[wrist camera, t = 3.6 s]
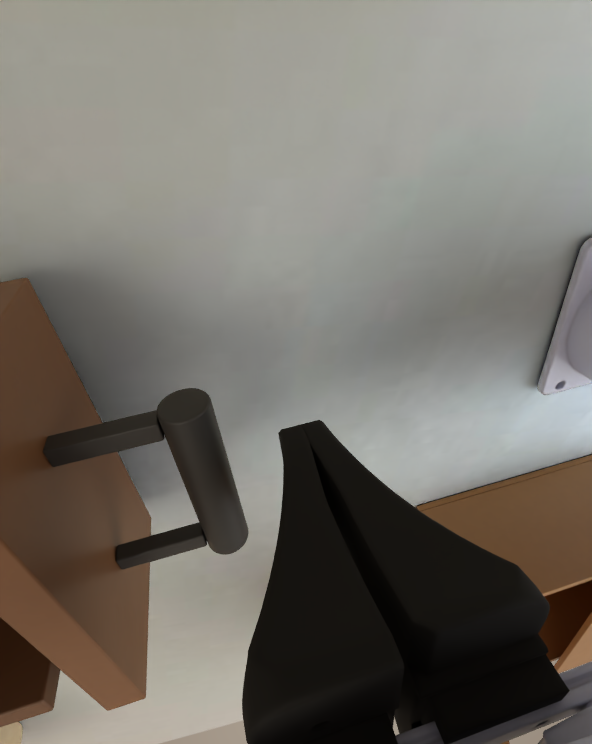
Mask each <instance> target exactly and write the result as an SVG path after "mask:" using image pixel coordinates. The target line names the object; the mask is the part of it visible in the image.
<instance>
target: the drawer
mask: <svg viewBox="0 0 592 744" xmlns="http://www.w3.org/2000/svg"><path fill="white" fill-rule="evenodd" d="M164 435H165V437H166V440H167V442H168V445H169V447H170V450H171V452H172V455H173V457H174V460H175V462H176V465H177V467H178V470H179V472H180V475H181V477H182V480H183V482H184V485H185V487H186V490H187V492H188V495H189V497H190V500H191V502H192V505H193V507H194V509H195V512H196V514H197V517H198V519H199V523H195V524H192V525H188V526H185V527H181V528H177V529H174V530H170V531H167V532H163V533H159V534H156V535H152V536H151V517H150V515H149V513H148V511H147V509H146V507H145V505H144V503H143V501H142V499H141V497H140V495H139V493H138V491H137V490H136V488H135V486H134V484H133V482H132V480H131V478H130V476H129V474H128V472H127V470H126V468H125V466H124V464H123V462H122V460H121V458H120V456H119V454H118V453H117V452H118V451H122V450H126V449H130V448H134V447H138V446H142V445H146V444H150V443H154V442H158V441H162V440H164ZM247 537H248V527H247V523H246V520H245V516H244V513H243V509H242V506H241V503H240V499H239V496H238V492H237V489H236V485H235V482H234V478H233V475H232V471H231V468H230V465H229V461H228V458H227V454H226V451H225V447H224V444H223V440H222V437H221V433H220V430H219V427H218V423H217V420H216V416H215V413H214V409H213V406H212V402H211V399H210V397H209V395H208V394H207V393H206V392H205V391H203V390H200V389H196V388H188V389H182V390H178V391H176V392H173V393H171V394H170V395H168V396H167V397H165V398H164V399H163V400H162V401H161V402H160V404H159V405H158V408H157V410H156V411H152V412H148V413H143V414H139V415H135V416H131V417H126V418H122V419H118V420H114V421H110V422H105V423H102V421H101V419H100V417H99V416H98V414H97V412H96V410H95V408H94V406H93V404H92V402H91V400H90V398H89V396H88V394H87V392H86V390H85V388H84V386H83V384H82V382H81V380H80V379H79V377H78V375H77V373H76V371H75V369H74V367H73V365H72V363H71V361H70V359H69V357H68V355H67V353H66V351H65V349H64V347H63V345H62V343H61V342H60V340H59V338H58V336H57V334H56V332H55V330H54V328H53V326H52V324H51V322H50V320H49V318H48V316H47V314H46V312H45V310H44V308H43V306H42V305H41V303H40V301H39V299H38V297H37V295H36V293H35V291H34V289H33V287H32V285H31V283H30V281H29V279H28V278H21V279H16V280H11V281H5V282H0V727H3V726H6V725H9V724H12V723H15V722H18V721H21V720H24V719H28V718H31V717H34V716H37V715H40V714H43V713H46V712H49V711H51V710H53V708H54V703H55V697H56V691H57V686H58V680H59V674H60V670H61V671H62V672H64V673H65V674H66V675H67V676H68V677H69V678H70V679H72V680H73V681H74V682H75V683H76V684H77V685H78V686H80V687H81V688H82V689H83V690H84V691H85V692H87V693H88V694H89V695H90V696H91V697H92V698H93V699H95V700H96V701H97V702H98V703H99V704H100V705H101V706H103V707H104V708H105V709H106V710H111V709H115V708H118V707H121V706H124V705H127V704H130V703H133V702H136V701H139V700H142V699H144V698H145V697H146V676H147V642H148V609H149V575H150V562H151V561H155V560H158V559H162V558H165V557H169V556H172V555H176V554H179V553H183V552H186V551H190V550H193V549H197V548H200V547H204V546H206V545H207V542H208V544H209V546H210V548H211V549H212V550H213V551H214V552H216V553H219V554H231V553H234V552H236V551H237V550H239V549H240V548H241V547H242V546H243V545H244V544H245V542H246V540H247Z"/></svg>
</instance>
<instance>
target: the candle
mask: <svg viewBox="0 0 592 744" xmlns="http://www.w3.org/2000/svg"><path fill="white" fill-rule="evenodd" d="M22 730H23V728H22V725H21V724H20V723H19V722H15V723H12V724H9V725H6V726H3V727H0V744H21V739H22Z"/></svg>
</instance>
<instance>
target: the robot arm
mask: <svg viewBox="0 0 592 744" xmlns="http://www.w3.org/2000/svg"><path fill="white" fill-rule="evenodd" d="M591 383H592V238H590V239H588V240H587V241H586V242H585V243H584V244H583V245H582V247H581V249H580V251H579V254H578V258H577V261H576V264H575V267H574V270H573V274H572V277H571V280H570V283H569V287H568V290H567V293H566V296H565V299H564V303H563V306H562V309H561V312H560V315H559V319H558V322H557V325H556V328H555V332H554V335H553V338H552V341H551V344H550V348H549V351H548V354H547V357H546V361H545V364H544V367H543V370H542V373H541V377H540V380H539V383H538V388H537V389H538V391H539V392H541V393H542V394H543V395H550V394H554V393H557V392H561V391H565V390H569V389H572V388H576V387H580V386H584V385H587V384H591ZM279 439H280V444H281V450H282V456H283V464H284V477H283V498H282V511H281V519H280V527H279V534H278V540H277V546H276V551H275V556H274V561H273V566H272V570H271V575H270V579H269V583H268V586H267V590H266V594H265V598H264V602H263V605H262V609H261V612H260V616H259V619H258V622H257V625H256V628H255V631H254V634H253V638H252V641H251V644H250V647H249V650H248V659H247V665H246V672H245V679H244V687H243V699H242V710H243V720H244V727H245V733H246V740H247V743H248V744H501V743H503V742H506V741H508V740H511V739H513V738H516V737H518V736H521V735H523V734H526V733H528V732H531V731H533V730H536V729H539V728H541V727H544V726H546V725H549V724H551V723H554V722H556V721H559V720H561V719H564V718H566V717H569V716H571V715H573V716H571V717H569V718H568V719H566V720H564V721H562V722H560V723H558V724H557V725H554V726H553V727H551V728H549V729H547V730H545V731H544V732H543V738H542V739H541V740H540V742H539V743H538V744H592V661H591V662H589V663H586V664H583V665H581V666H578V667H576V668H573V669H570V670H568V671H565V672H562V673H560V674H558V672H557V671H556V669H555V668H554V666H553V665H552V663H551V662H550V660H549V658H548V657H547V655H546V654H547V653H548V652H549V651H548V648H547V646H546V644H545V643H544V641H543V640H542V639H541V637H540V636H539V634H538V633H539V631H540V630H541V628H542V626H543V624H544V623H545V621H546V619H547V617H548V614H549V611H550V606H549V603H548V601H547V600H546V599H545V597H544V596H543V594H542V593H541V592H540V590H539V589H538V588H537V586H536V585H535V584H534V583H533V582H532V581H531V580H530V578H529V577H528V576H527V575H526V574H525V573H524V572H523V571H522V570H521V568H520V567H519V566H518V565H516V564H514V563H512V562H510V561H508V560H506V559H503V558H501V557H499V556H497V555H495V554H493V553H491V552H489V551H487V550H485V549H483V548H481V547H479V546H477V545H476V544H474V543H472V542H470V541H468V540H466V539H465V538H463V537H461V536H459V535H457V534H456V533H454V532H453V531H451V530H449V529H448V528H446V527H444V526H443V525H441V524H439V523H438V522H436V521H435V520H433V519H431V518H430V517H428V516H427V515H425V514H424V513H422V512H421V511H419V510H418V509H416V508H415V507H413V506H412V505H411V504H409V503H408V502H407V501H405V500H404V499H403V498H401V497H400V496H398V495H397V494H396V493H395V492H393V491H392V490H391V489H390V488H388V487H387V486H386V485H385V484H384V483H382V482H381V481H380V480H379V479H378V478H377V477H375V476H374V475H373V474H372V473H371V472H370V471H369V470H368V469H366V468H365V467H364V466H363V465H362V464H361V463H360V462H359V461H358V460H357V459H356V458H355V457H354V456H353V455H352V454H351V453H350V452H349V451H348V450H347V449H346V448H345V447H344V446H343V445H342V444H341V443H340V442H339V440H338V439H337V438H336V437H335V436H334V435H333V434H332V432H331V431H330V430H329V429H328V428H327V426H326V425H325V424H324V423H323V422H322V421H321V420H317V421H313V422H309V423H305V424H301V425H297V426H293V427H289V428H286V429H282V430H281V431H280V432H279ZM576 713H577V714H576ZM574 714H575V715H574ZM394 717H395V720H396V723H397V726H398V730H399V733H400V734H398V735H396V736H395V734H394V731H393V720H394Z"/></svg>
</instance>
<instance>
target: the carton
mask: <svg viewBox="0 0 592 744" xmlns="http://www.w3.org/2000/svg"><path fill="white" fill-rule="evenodd" d="M416 509H418V510H419V511H421V512H422V513H424V514H425V515H427V516H428V517H430V518H431V519H433V520H435V521H436V522H438V523H439V524H441V525H443V526H444V527H446V528H448V529H449V530H451V531H453V532H454V533H456V534H457V535H459V536H461V537H463V538H465V539H466V540H468V541H470V542H472V543H474V544H476V545H477V546H479V547H481V548H483V549H485V550H487V551H489V552H491V553H493V554H495V555H497V556H499V557H501V558H503V559H506V560H508V561H510V562H512V563H514V564H516V565H518V566H519V567H520V568H521V570H522V571H523V572H524V573H525V574H526V575H527V576H528V577H529V578H530V580H531V581H532V582H533V583H534V584H535V585H536V586H537V588H538V589H539V590H540V592H541V593H542V594H543V596H544V597H545V599H546V600H547V601H548V603H549V606H550V611H549V614H548V617H547V619H546V621H545V623H544V624H543V626H542V628H541V630H540V631H539V633H538V634H539V636H540V637H541V639H542V640H543V641H544V643H545V644H546V646H547V648H548V651H549V652H548V653H547V654H546V655H547V657H548V658H549V660H550V662H552V661H554V660H557V659H559V660H558V661H557V663H556V664H555V666H554V668H555V669H556V671H557V672H558V674H559V673H561V672H564V671H567V670H569V669H572V668H575V667H577V666H580V665H583V664H585V663H588V662H591V661H592V455H589V456H586V457H582V458H579V459H575V460H572V461H569V462H565V463H562V464H558V465H555V466H552V467H548V468H545V469H541V470H538V471H535V472H531V473H528V474H524V475H521V476H518V477H514V478H511V479H507V480H504V481H501V482H497V483H494V484H490V485H487V486H484V487H480V488H477V489H473V490H470V491H467V492H463V493H460V494H456V495H453V496H450V497H446V498H443V499H439V500H436V501H433V502H429V503H426V504H422V505H419V506H417V507H416Z"/></svg>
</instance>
